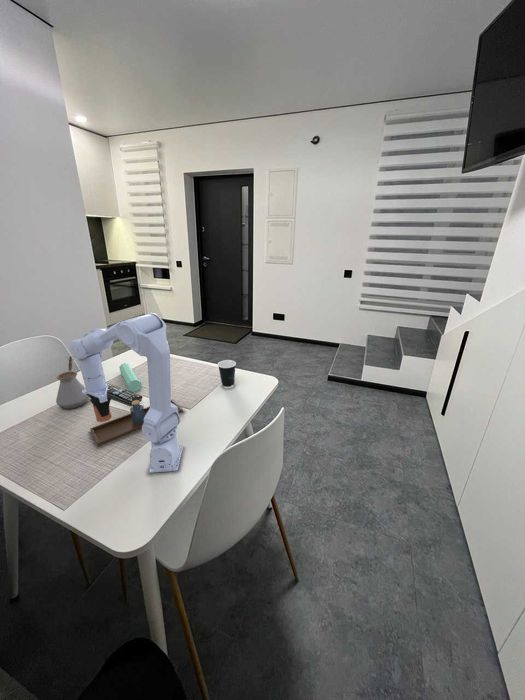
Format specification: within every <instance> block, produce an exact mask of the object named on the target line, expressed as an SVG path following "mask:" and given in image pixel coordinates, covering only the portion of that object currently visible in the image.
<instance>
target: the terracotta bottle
mask: <svg viewBox="0 0 525 700" xmlns="http://www.w3.org/2000/svg"><path fill="white" fill-rule="evenodd" d="M94 398H96V397H94ZM92 408H93V412H94V416H95V419H96V422H99V423H106V422H108V421H110V420H111V419H112V417H113V416H112V411H111V407H110V406H109V415H107V416H104V417H101V415H100V414H99V412H98V409H97V408H96V406H95V405H93V404H92Z"/></svg>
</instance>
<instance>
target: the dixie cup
mask: <svg viewBox="0 0 525 700" xmlns="http://www.w3.org/2000/svg"><path fill="white" fill-rule="evenodd" d="M236 365H237V362H236V361H235V360H231V359H224V360H220V361H219V362H217V367H218V370H219V377H220V381H221V385H222V388H224V389H232V388H233V387H234V385H235V376H236Z"/></svg>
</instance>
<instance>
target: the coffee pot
mask: <svg viewBox="0 0 525 700" xmlns="http://www.w3.org/2000/svg"><path fill="white" fill-rule="evenodd" d="M67 359H68V371H65V372H62V373H59V374H58V375H57V376H56V379H57V380H59V384H58V385H59V386H58V390H57V395H56V399H55V403H56V405H57V406H58V407H61V408H64V409H67V410H71V409H76V408H79V407H81V406H84V404H85V403H86V402H87V401H88V400H89V399H90V397H89V396H88V395H87V394H83V393H82V390H85V389H86V387H85V385H83V384H82V383H81V382H80V381H79V379H78V378H77V376H78V373H77V372H76V371H72V369H73V360H75V358H73V356H69V357H68V358H67Z"/></svg>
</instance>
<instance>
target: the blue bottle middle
mask: <svg viewBox="0 0 525 700" xmlns="http://www.w3.org/2000/svg"><path fill="white" fill-rule="evenodd" d="M140 403H141V402H140V400H138V399H135V400H132V401H131V407H130V408H129V411H130V413H131V417H132V422H133V424H135V425H139V424H142V423H144V417H145V413H144V408H145V407H144V405H142V404H140Z"/></svg>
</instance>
